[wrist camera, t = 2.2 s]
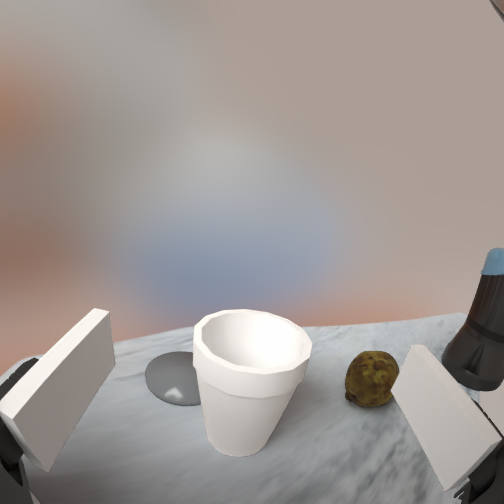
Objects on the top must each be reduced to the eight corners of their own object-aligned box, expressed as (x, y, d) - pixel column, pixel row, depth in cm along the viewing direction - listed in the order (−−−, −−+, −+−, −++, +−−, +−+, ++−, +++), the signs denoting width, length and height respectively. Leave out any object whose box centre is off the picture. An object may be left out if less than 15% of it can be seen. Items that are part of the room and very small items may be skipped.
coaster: (233, 369, 36) (234, 364, 36) (205, 417, 26) (205, 412, 26) (169, 348, 38) (169, 344, 38) (130, 385, 29) (129, 381, 28)
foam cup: (237, 394, 31) (251, 301, 28) (298, 434, 25) (332, 340, 22) (174, 427, 24) (169, 326, 21) (236, 484, 18) (257, 393, 15)
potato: (412, 394, 31) (434, 349, 29) (358, 434, 25) (385, 385, 23) (373, 367, 38) (390, 324, 36) (314, 395, 32) (331, 346, 30)
